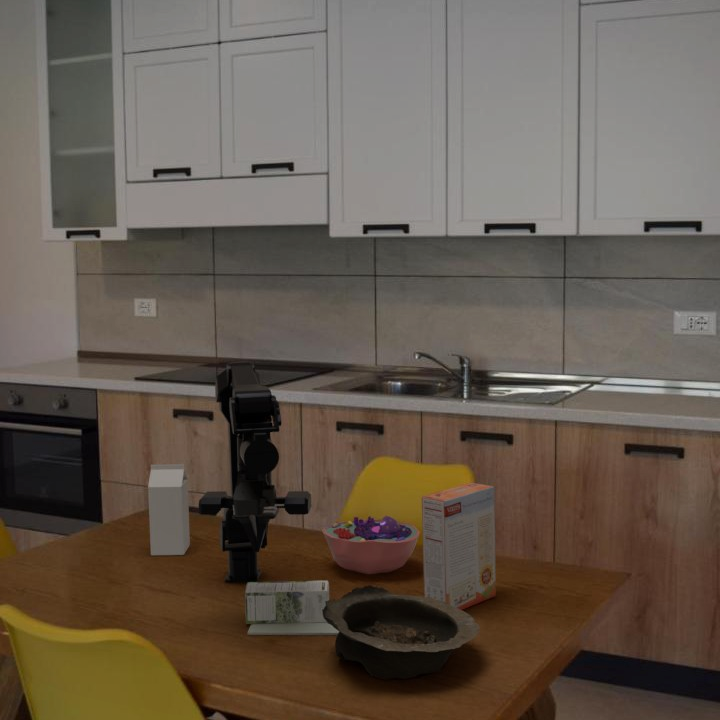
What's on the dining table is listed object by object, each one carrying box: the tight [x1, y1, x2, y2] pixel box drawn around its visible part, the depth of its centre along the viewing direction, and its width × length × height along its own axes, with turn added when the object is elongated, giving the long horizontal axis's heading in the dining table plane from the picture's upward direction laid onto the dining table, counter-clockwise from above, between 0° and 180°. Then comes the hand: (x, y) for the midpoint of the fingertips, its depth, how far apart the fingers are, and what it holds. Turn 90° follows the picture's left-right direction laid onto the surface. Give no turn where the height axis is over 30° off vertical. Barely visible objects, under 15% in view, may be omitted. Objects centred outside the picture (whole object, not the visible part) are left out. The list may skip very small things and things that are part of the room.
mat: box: [247, 622, 339, 636], centre depth 180 cm, size 12×16×1 cm
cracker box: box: [421, 481, 497, 611], centre depth 187 cm, size 14×6×21 cm, turn 135°
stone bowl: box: [322, 585, 481, 680], centre depth 162 cm, size 25×25×9 cm
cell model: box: [321, 515, 421, 575], centre depth 207 cm, size 17×20×11 cm
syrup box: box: [244, 580, 331, 625], centre depth 180 cm, size 6×6×14 cm
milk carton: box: [147, 463, 191, 556], centre depth 222 cm, size 7×7×19 cm
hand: (257, 551), depth 179 cm, fingers closed
